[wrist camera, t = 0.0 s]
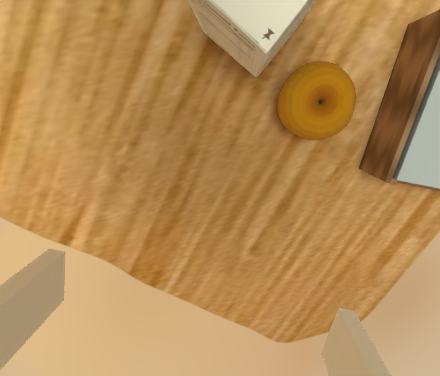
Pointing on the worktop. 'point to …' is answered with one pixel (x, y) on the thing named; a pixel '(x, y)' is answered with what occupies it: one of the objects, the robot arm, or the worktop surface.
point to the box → (403, 98)
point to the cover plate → (423, 140)
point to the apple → (317, 101)
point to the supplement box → (250, 27)
